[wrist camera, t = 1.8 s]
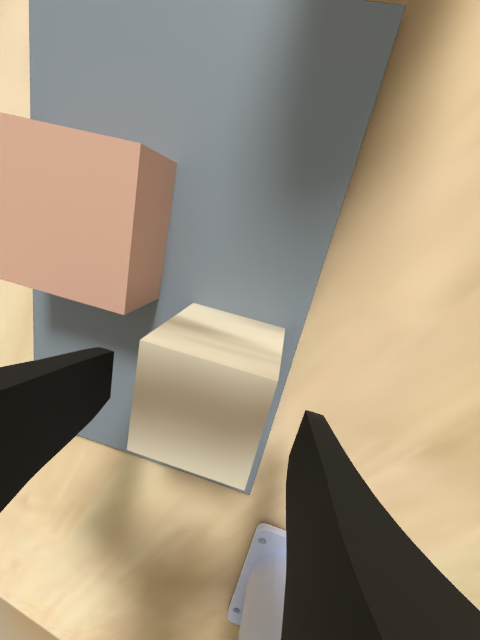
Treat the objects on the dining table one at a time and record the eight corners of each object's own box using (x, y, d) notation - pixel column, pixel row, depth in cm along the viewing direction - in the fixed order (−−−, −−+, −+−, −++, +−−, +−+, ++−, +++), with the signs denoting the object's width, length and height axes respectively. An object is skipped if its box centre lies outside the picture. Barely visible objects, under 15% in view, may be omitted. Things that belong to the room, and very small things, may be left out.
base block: (158, 298, 14) (124, 315, 11) (49, 267, 15) (-9, 276, 12) (177, 163, 12) (140, 143, 9) (50, 134, 13) (-20, 107, 10)
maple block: (261, 408, 15) (244, 490, 10) (179, 382, 15) (126, 449, 11) (285, 328, 13) (278, 381, 9) (193, 302, 14) (139, 339, 9)
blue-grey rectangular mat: (251, 487, 17) (249, 494, 17) (41, 415, 19) (34, 420, 18) (400, 16, 10) (405, 6, 9) (39, -38, 11) (28, -49, 11)
